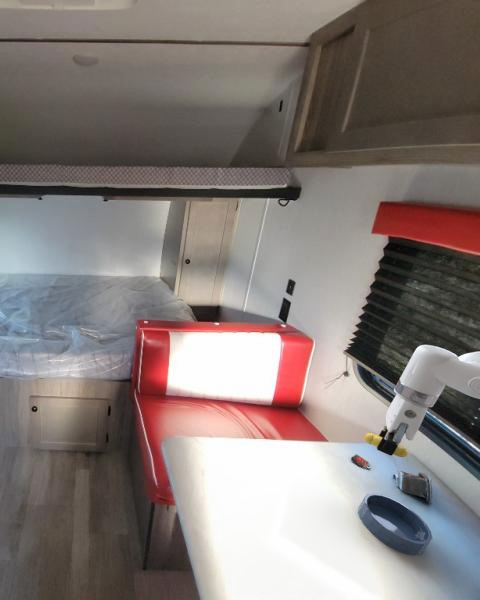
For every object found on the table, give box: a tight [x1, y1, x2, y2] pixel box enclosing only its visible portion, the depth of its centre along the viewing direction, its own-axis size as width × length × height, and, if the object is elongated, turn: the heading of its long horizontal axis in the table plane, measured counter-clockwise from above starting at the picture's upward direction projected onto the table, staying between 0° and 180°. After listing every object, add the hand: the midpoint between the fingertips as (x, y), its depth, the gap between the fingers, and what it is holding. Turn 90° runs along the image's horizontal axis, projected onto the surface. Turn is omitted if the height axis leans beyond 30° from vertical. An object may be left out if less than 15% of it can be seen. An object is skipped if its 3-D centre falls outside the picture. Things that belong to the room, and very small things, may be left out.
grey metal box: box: [392, 470, 433, 505], centre depth 96 cm, size 10×7×12 cm
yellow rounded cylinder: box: [363, 432, 409, 458], centre depth 90 cm, size 9×3×3 cm, turn 51°
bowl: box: [357, 492, 433, 556], centre depth 83 cm, size 13×13×4 cm
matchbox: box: [350, 453, 371, 470], centre depth 103 cm, size 5×5×1 cm
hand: (383, 447), depth 90 cm, fingers closed on yellow rounded cylinder, 3 cm apart
